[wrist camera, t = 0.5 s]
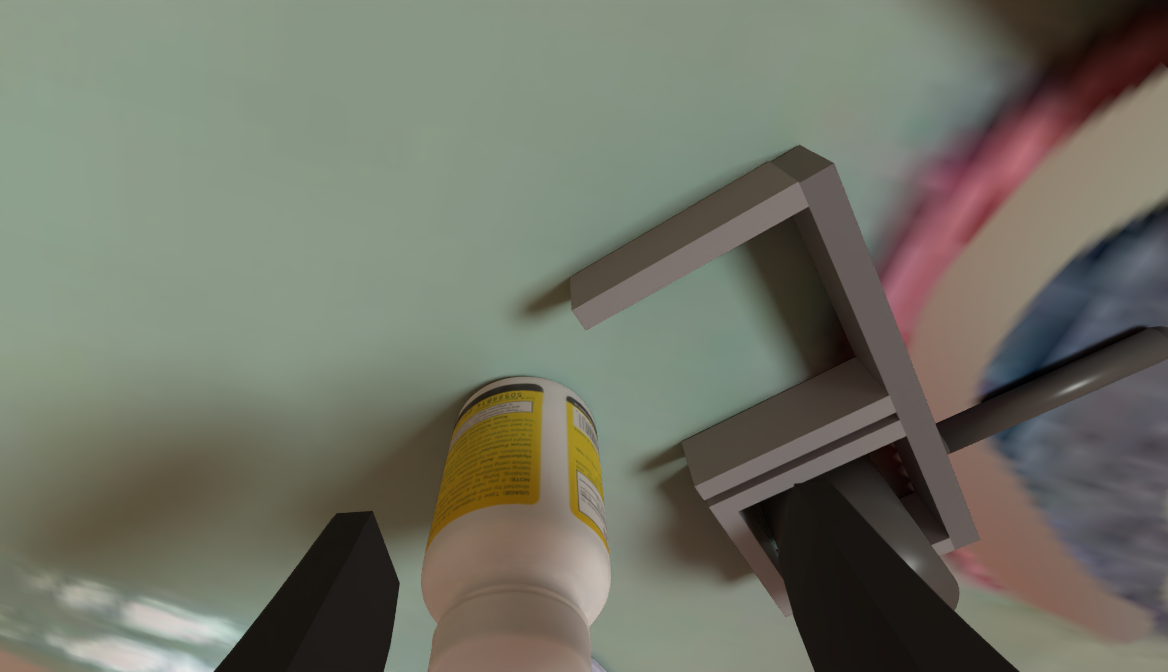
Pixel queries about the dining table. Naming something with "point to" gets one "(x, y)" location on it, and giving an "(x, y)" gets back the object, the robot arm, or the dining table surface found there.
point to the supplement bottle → (518, 534)
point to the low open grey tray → (833, 380)
